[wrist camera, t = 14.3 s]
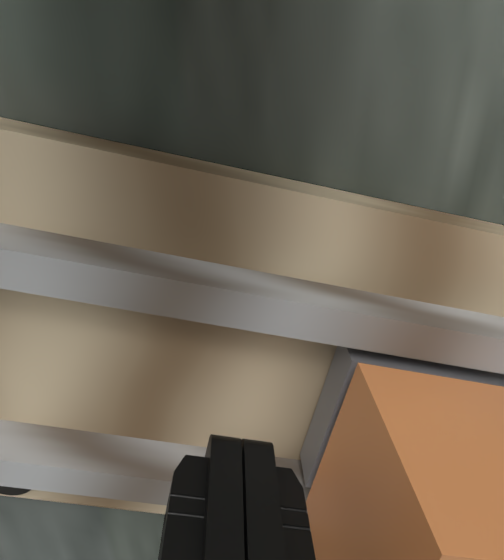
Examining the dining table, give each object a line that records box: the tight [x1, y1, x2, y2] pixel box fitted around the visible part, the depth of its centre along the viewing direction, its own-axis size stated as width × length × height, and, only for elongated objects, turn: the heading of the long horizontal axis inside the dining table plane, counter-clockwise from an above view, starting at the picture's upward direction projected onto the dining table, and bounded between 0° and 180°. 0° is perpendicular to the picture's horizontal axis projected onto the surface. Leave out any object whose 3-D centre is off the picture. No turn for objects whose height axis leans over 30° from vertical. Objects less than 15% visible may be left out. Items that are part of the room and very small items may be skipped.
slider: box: [300, 346, 504, 560], centre depth 11 cm, size 5×5×7 cm
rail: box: [0, 117, 504, 531], centre depth 14 cm, size 32×12×3 cm, turn 78°
